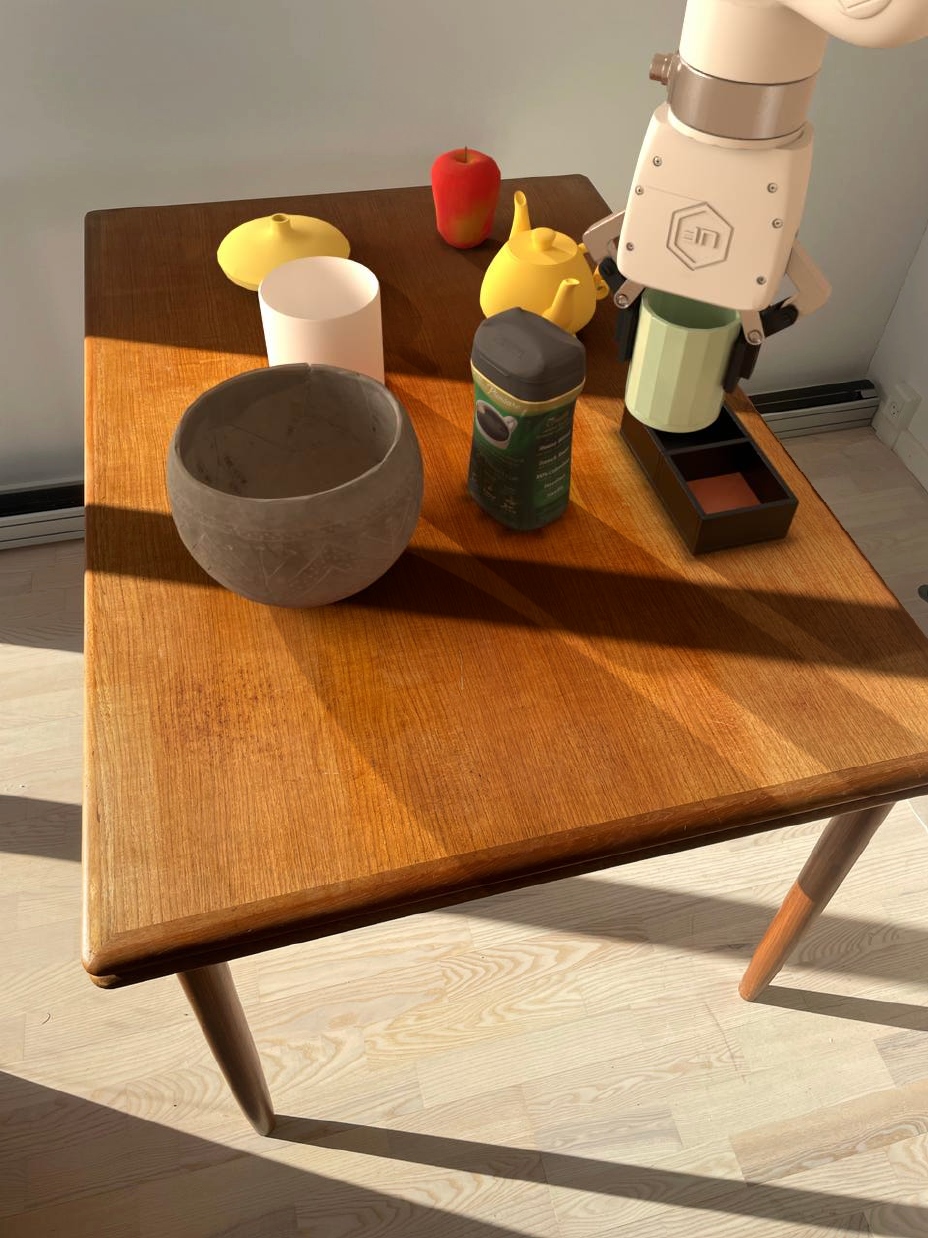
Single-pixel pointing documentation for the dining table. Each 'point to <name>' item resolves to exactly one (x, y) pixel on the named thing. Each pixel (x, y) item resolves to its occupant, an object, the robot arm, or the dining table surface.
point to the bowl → (296, 483)
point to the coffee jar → (523, 417)
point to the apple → (465, 196)
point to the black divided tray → (713, 482)
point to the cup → (323, 315)
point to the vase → (276, 246)
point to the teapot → (542, 275)
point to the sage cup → (679, 361)
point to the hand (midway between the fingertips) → (680, 365)
